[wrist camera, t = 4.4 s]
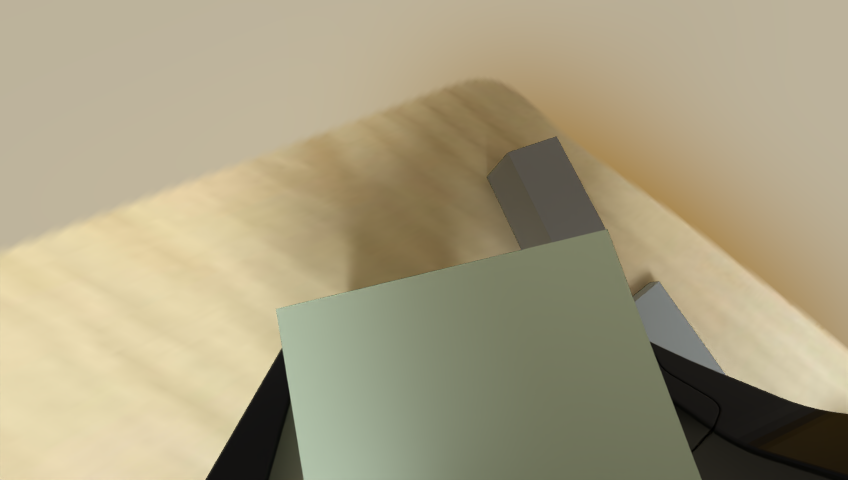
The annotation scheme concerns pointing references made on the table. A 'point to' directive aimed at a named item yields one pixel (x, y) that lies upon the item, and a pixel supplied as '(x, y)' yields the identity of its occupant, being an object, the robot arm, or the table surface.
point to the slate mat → (670, 326)
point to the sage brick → (484, 375)
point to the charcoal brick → (543, 195)
